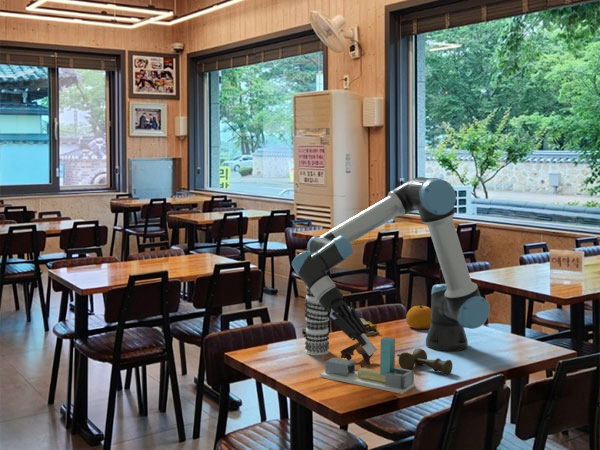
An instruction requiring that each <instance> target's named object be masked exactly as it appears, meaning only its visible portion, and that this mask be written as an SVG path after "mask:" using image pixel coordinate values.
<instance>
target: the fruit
mask: <svg viewBox="0 0 600 450" xmlns="http://www.w3.org/2000/svg"><path fill="white" fill-rule="evenodd" d="M405 316H406V317H405V320H406V324H407V325H408V326H409V327H410V328H413V329H416V330H427V329H428V330H429V328H430V326H431V307H429V306H426V305H423V303H420V305H414V306H412V307H410V309H408V311H407V313H406V315H405Z"/></svg>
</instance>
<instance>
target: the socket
mask: <svg viewBox="0 0 600 450" xmlns="http://www.w3.org/2000/svg"><path fill="white" fill-rule="evenodd" d="M414 383H415V371H414V370H413V369H412V370H407V369H402V368H401V367H397V366H396V367H395V372H394V373H391V372H387V373H386V380H385V386H388V387H393V388H398V389H403V390H404V389H405V388H407V387H409V386H410V385H412V384H414Z"/></svg>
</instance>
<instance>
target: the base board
mask: <svg viewBox="0 0 600 450" xmlns="http://www.w3.org/2000/svg"><path fill="white" fill-rule="evenodd" d="M320 378H325V379H328V380H332V381H339V382H343V383H347V384H353V385H356V386H357V385H358V386H362V387H368V388H372V389H376V390H382V391H387V392H391V393H397V394H401V395H403V394H404V393H406V392H408V391H409V390H411V389H413V388H414V387H416V382H414V384H412V385H410V386H409V387H407V388H405V389H404V390H403V389H398V388H393V387H388V386H385V382H380V381H375V380H370V379H365V378H360V377H358V370H355V373H354V374H353V373H348V377H344V376H339V375H334V374H329V373H325V371H324V372H322V373H320Z"/></svg>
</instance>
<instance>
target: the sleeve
mask: <svg viewBox="0 0 600 450" xmlns="http://www.w3.org/2000/svg"><path fill="white" fill-rule="evenodd" d="M324 363H325V368H324V372H325V373H329V374H334V375H339V376H344V377H348V373H353V374H354V373H355V371H356V361H354V360H347V359H346V358H345V359H344V358H338V357H332V358H330V359H326V360H325V362H324Z"/></svg>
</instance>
